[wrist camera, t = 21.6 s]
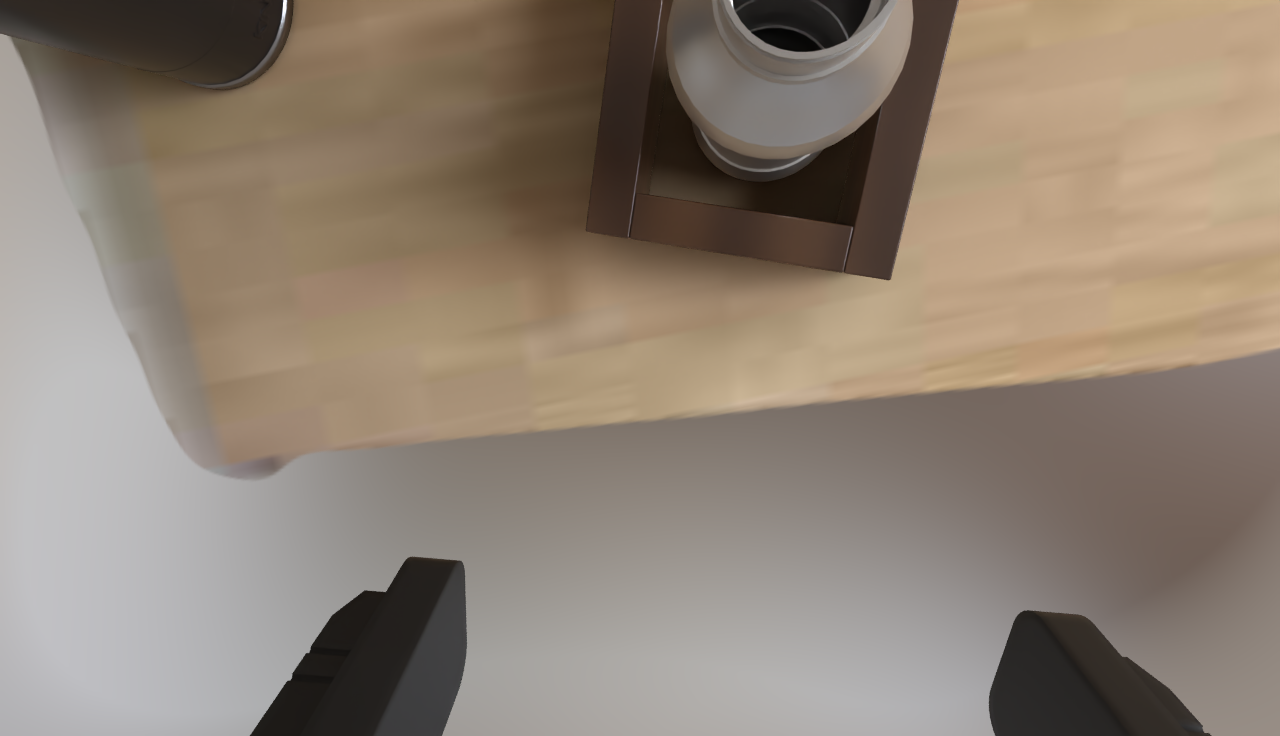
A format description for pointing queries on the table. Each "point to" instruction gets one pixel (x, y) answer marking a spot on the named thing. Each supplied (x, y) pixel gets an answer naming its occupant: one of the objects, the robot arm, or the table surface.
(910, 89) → the bottle holder
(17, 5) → the robot arm
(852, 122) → the silver metal bottle
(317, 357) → the table surface
